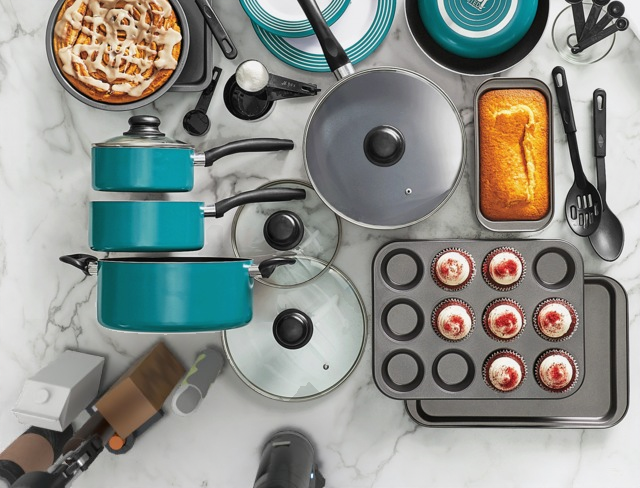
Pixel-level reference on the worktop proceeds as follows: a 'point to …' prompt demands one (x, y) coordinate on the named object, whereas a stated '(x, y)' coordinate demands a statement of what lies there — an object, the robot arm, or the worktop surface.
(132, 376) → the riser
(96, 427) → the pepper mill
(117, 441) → the button
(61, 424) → the milk carton
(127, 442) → the scale
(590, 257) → the worktop surface
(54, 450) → the travel mug
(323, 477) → the robot arm
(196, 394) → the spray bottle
